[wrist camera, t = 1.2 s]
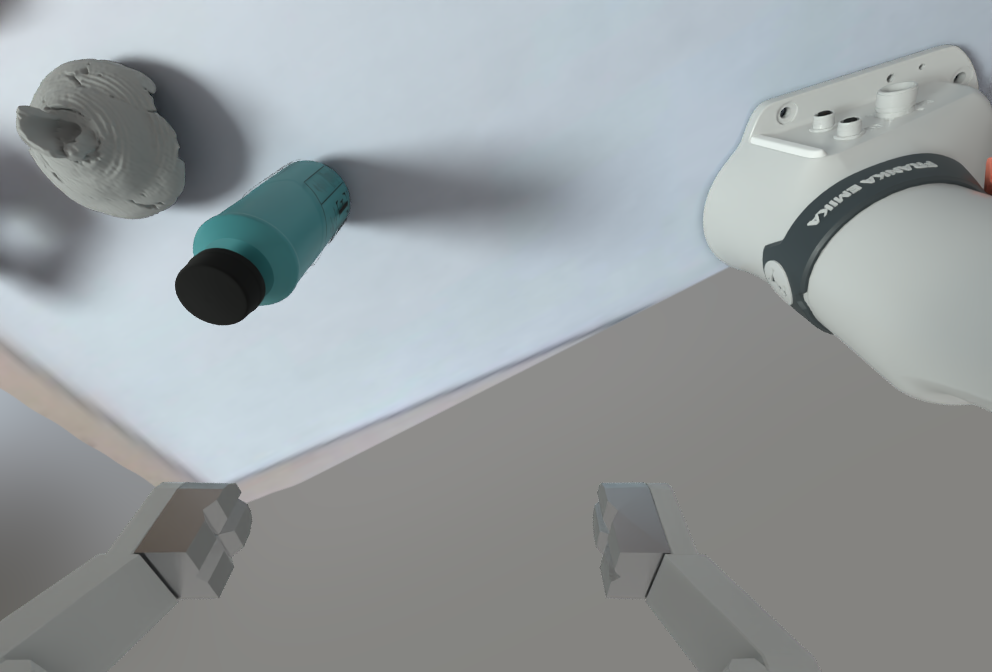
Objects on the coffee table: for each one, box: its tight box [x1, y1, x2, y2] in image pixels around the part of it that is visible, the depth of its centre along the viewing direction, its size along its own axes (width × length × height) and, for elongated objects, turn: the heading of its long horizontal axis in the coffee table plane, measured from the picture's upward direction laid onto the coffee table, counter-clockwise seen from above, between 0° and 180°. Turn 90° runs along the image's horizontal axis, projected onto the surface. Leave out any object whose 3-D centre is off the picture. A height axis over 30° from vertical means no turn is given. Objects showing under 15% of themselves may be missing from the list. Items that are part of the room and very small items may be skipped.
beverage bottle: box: [175, 161, 351, 325], centre depth 32 cm, size 6×7×20 cm
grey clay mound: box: [16, 59, 185, 219], centre depth 34 cm, size 12×12×11 cm
